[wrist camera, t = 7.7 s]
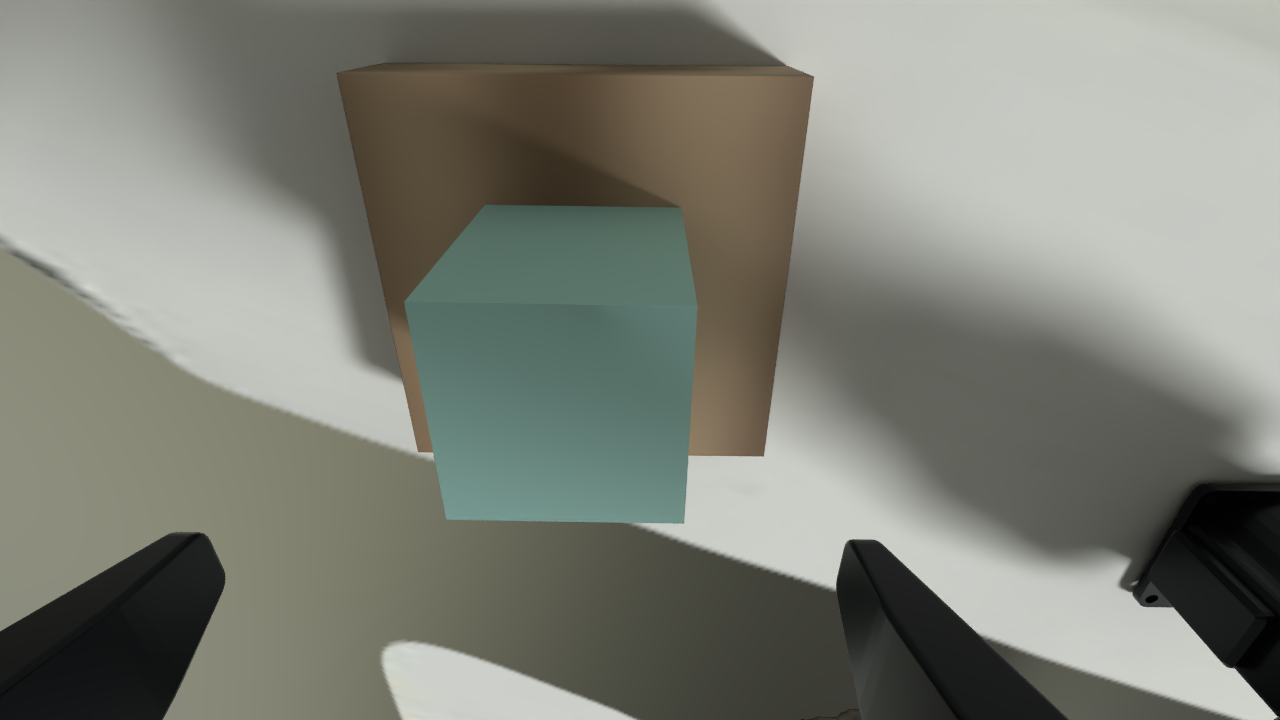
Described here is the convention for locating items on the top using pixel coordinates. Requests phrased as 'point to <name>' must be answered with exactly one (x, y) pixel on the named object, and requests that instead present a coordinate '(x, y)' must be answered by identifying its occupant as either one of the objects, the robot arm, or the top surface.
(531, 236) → the teal block
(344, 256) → the top surface
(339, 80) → the walnut base
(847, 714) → the stone
